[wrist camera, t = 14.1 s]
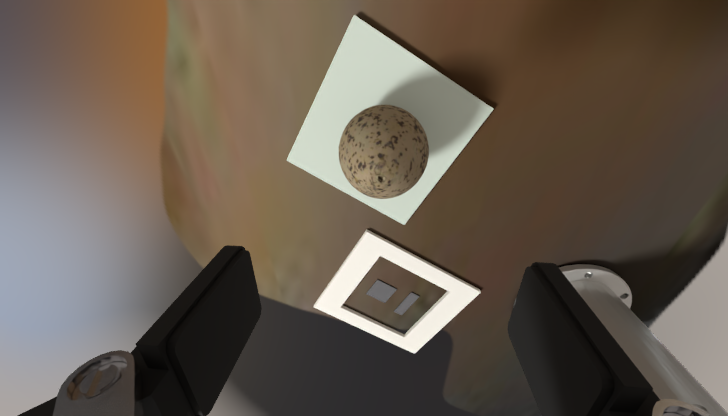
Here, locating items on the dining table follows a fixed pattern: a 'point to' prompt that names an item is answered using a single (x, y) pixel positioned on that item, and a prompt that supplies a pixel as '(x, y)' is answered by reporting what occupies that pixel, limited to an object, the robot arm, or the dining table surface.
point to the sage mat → (385, 87)
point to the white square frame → (358, 267)
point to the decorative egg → (383, 151)
